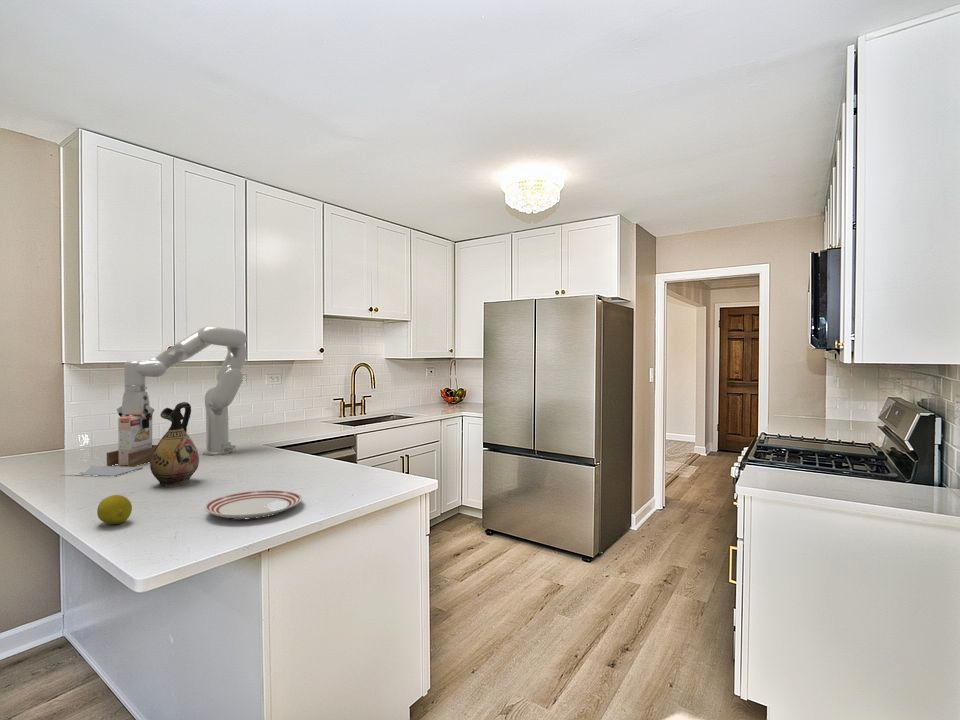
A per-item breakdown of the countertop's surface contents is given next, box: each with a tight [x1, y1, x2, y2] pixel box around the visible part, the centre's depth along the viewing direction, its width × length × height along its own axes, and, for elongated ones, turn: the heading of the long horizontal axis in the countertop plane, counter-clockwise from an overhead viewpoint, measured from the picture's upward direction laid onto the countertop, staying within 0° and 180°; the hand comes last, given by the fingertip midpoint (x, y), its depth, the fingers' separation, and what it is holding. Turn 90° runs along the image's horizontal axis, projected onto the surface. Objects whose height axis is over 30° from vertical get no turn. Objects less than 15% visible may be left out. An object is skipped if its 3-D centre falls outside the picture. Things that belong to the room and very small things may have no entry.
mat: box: [79, 465, 144, 477], centre depth 204 cm, size 24×14×1 cm, turn 82°
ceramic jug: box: [149, 401, 200, 488], centre depth 187 cm, size 17×15×30 cm
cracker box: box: [117, 415, 153, 467], centre depth 221 cm, size 14×6×21 cm, turn 179°
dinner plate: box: [203, 489, 303, 520], centre depth 155 cm, size 27×27×3 cm
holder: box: [106, 444, 158, 467], centre depth 221 cm, size 11×19×6 cm, turn 172°
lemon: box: [96, 494, 133, 525], centre depth 143 cm, size 11×8×8 cm
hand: (135, 427), depth 221 cm, fingers open, 9 cm apart
